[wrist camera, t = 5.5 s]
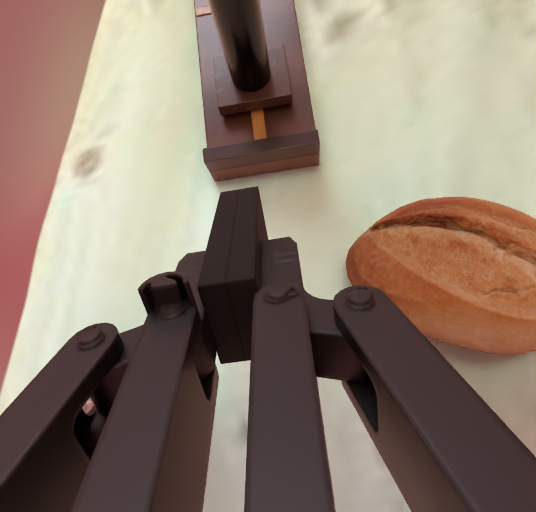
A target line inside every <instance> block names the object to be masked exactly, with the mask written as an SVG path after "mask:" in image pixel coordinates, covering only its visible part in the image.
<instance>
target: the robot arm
mask: <svg viewBox="0 0 536 512" xmlns="http://www.w3.org/2000/svg"><path fill="white" fill-rule="evenodd" d="M138 291H139V294H140V296H141V299H142V301H143V304H144V306H145V309H146V311H147V314H148V315H147V318H146V321H145V323H144V325H141V326H139V327H137V328H134V329H131V330H128V331H125V332H123V333H120V334H119V332H118V330H117V328H116V327H115V326H114V325H113V324H109V323H99V324H94V325H92V326H88V327H86V328H84V329H83V330H81V331H79V332H77V333H76V334H75V335H74V336H73V337H72V338H70V339H69V340H68V342H67V343H66V344H65V345H64V346H63V347H62V348H61V349H60V350H59V351H58V353H57V354H56V355H55V356H54V357H53V358H52V359H51V360H50V361H49V362H48V364H47V365H46V366H45V367H44V368H43V369H42V370H41V371H40V372H39V373H38V375H37V376H36V377H35V378H34V379H33V380H32V381H31V382H30V383H29V385H28V386H27V387H26V388H25V389H24V390H23V391H22V392H21V393H20V394H19V396H18V397H17V398H16V399H15V400H14V401H13V402H12V403H11V404H10V405H9V407H8V408H7V409H6V410H5V411H4V412H3V413H2V414H1V415H0V512H202V510H203V502H204V494H205V486H206V478H207V470H208V461H209V453H210V445H211V437H212V429H213V421H214V413H215V405H216V397H217V389H218V380H219V376H218V371H217V367H216V364H215V359H216V352H217V353H218V357H219V360H220V363H221V364H224V363H232V362H239V361H247V360H251V366H250V389H249V412H248V435H247V458H246V481H245V504H244V512H336V510H335V503H334V496H333V489H332V482H331V475H330V468H329V461H328V454H327V447H326V440H325V433H324V426H323V419H322V412H321V405H320V398H319V391H318V383H317V377H322V378H329V379H336V380H341V381H342V385H343V387H344V389H345V391H346V393H347V394H348V396H349V398H350V400H351V402H352V404H353V405H354V407H355V409H356V411H357V413H358V414H359V416H360V418H361V420H362V422H363V424H364V425H365V427H366V429H367V431H368V433H369V435H370V436H371V438H372V440H373V442H374V444H375V446H376V447H377V449H378V451H379V453H380V455H381V457H382V458H383V460H384V462H385V464H386V466H387V468H388V469H389V471H390V473H391V475H392V477H393V478H394V480H395V482H396V484H397V486H398V488H399V489H400V491H401V493H402V495H403V497H404V499H405V500H406V502H407V504H408V506H409V508H410V510H411V511H412V512H536V457H535V456H534V455H533V454H532V453H531V452H530V450H529V449H528V448H527V447H526V446H525V445H524V444H523V443H522V442H521V441H520V440H519V438H518V437H517V436H516V435H515V434H514V433H513V432H512V431H511V430H510V429H509V428H508V426H507V425H506V424H505V423H504V422H503V421H502V420H501V419H500V418H499V417H498V416H497V414H496V413H495V412H494V411H493V410H492V409H491V408H490V407H489V406H488V405H487V404H486V402H485V401H484V400H483V399H482V398H481V397H480V396H479V395H478V394H477V393H476V392H475V391H474V389H473V388H472V387H471V386H470V385H469V384H468V383H467V382H466V381H465V380H464V379H463V377H462V376H461V375H460V374H459V373H458V372H457V371H456V370H455V369H454V368H453V367H452V365H451V364H450V363H449V362H448V361H447V360H446V359H445V358H444V357H443V356H442V355H441V353H440V352H439V351H438V350H437V349H436V348H435V347H434V346H433V345H432V344H431V343H430V341H429V340H428V339H427V338H426V337H425V336H424V335H423V334H422V333H421V332H420V331H419V330H418V328H417V327H416V326H415V325H414V324H413V323H412V322H411V321H410V320H409V319H408V318H407V316H406V315H405V314H404V313H403V312H402V311H401V310H400V309H399V308H398V307H397V306H396V304H395V303H394V302H393V301H392V300H391V299H390V298H389V297H388V296H387V295H386V294H385V293H384V292H383V291H381V290H380V289H378V288H374V287H371V286H362V285H358V286H352V287H348V288H346V289H343V290H341V291H340V292H339V293H338V294H336V295H335V297H334V300H325V299H319V298H316V297H313V296H311V295H310V294H308V293H307V292H306V291H305V290H304V287H303V282H302V276H301V269H300V262H299V256H298V249H297V243H296V242H295V241H293V240H292V239H291V238H290V237H285V238H279V239H272V240H268V236H267V231H266V226H265V220H264V215H263V210H262V205H261V199H260V194H259V189H258V186H257V187H251V188H245V189H239V190H233V191H227V192H221V193H220V197H219V201H218V205H217V209H216V213H215V217H214V221H213V225H212V229H211V233H210V237H209V241H208V245H207V248H206V251H201V252H194V253H188V254H186V255H185V256H184V257H183V258H182V259H181V260H180V261H179V263H178V266H177V268H176V272H166V273H162V274H158V275H156V276H154V277H151V278H149V279H148V280H146V281H145V282H144V283H142V285H141V286H140V287H139V288H138ZM89 398H90V399H91V401H92V403H93V404H94V406H93V407H92V409H91V410H90V411H89V412H88V413H87V414H86V413H85V412H84V410H83V409H82V408H83V406H84V405H85V404H86V402H87V401H88V399H89Z"/></svg>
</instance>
